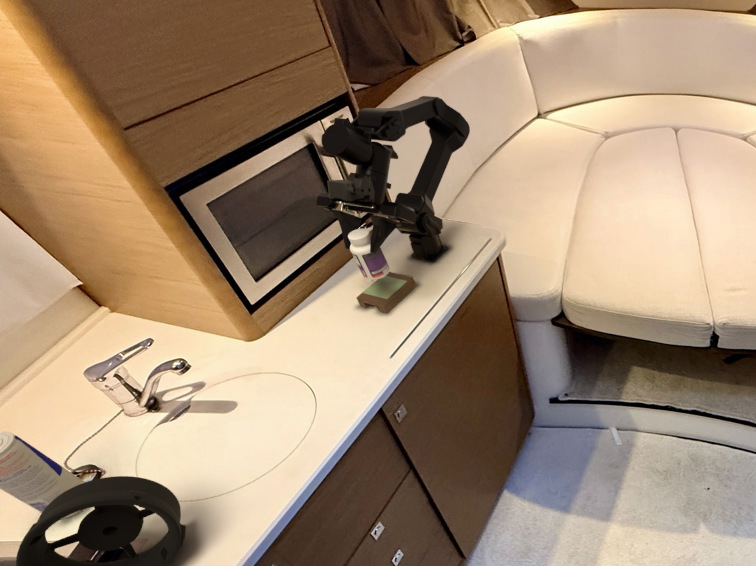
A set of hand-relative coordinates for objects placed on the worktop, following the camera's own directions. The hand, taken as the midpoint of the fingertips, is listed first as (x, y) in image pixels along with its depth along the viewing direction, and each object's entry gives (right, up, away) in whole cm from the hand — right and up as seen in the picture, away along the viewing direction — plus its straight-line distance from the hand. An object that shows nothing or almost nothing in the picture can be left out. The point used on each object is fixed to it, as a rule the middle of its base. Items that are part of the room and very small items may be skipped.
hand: (360, 250), depth 103 cm
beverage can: (-30, -43, -24) cm, 58 cm away
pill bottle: (+1, -4, +6) cm, 7 cm away
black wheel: (-17, -41, -31) cm, 54 cm away
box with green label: (+1, -8, +11) cm, 13 cm away
